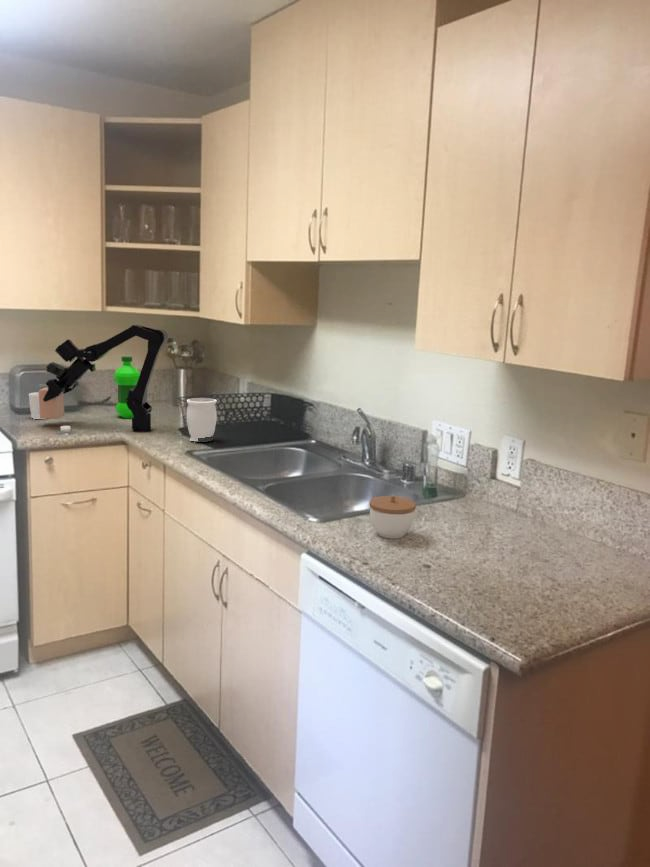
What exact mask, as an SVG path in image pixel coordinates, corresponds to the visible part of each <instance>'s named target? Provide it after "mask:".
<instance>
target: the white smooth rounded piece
mask: <svg viewBox="0 0 650 867" xmlns="http://www.w3.org/2000/svg"><path fill="white" fill-rule="evenodd" d="M59 428H60V431H61V433H70V432H71V430H72V429H71V425H61V426H60V427H59Z"/></svg>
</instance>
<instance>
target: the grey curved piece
mask: <svg viewBox="0 0 650 867" xmlns="http://www.w3.org/2000/svg"><path fill="white" fill-rule="evenodd" d="M53 433H54V435H58V436H59V435H61V436H66V435H68V436H69V435H74V434H77V433H78V431H77V430H74V429H73V430H72V429H71V432H70V433H61V430H56V431H54V432H53Z"/></svg>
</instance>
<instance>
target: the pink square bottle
mask: <svg viewBox="0 0 650 867" xmlns="http://www.w3.org/2000/svg"><path fill="white" fill-rule="evenodd" d="M47 391H48V386H47V385H46V387H44V388H41V389H39V390H38V392H39V407H40V418H48V419H49V420H50V419H51V420H52V419H54V420H58V419H60V418H62V417H64V416H65V401H64V400H65V399H64V394H63V393H62V395H60V396H57V397H55V398H53V399H51V400H48V401H46V402H44V401H43V399H44V397H45V395H46V393H47ZM48 419H47V420H48Z"/></svg>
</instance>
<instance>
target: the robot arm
mask: <svg viewBox="0 0 650 867" xmlns="http://www.w3.org/2000/svg"><path fill="white" fill-rule="evenodd" d="M135 337H138V338H140V339H143V340H146V341H147V352H146V355H145V358H144V360H143V364H142V367H141V371H140V372H139V373H140V376H139V379H138V382H137V385H136V387H135V388H132V389H130V390H129V393H128V397H127V399H126V400H127V406H128V408H129V409H130V410H131V411H132V414H133V416H134V417H132V418H131V428H132V430H133V432H152V418H151V413H152V410H153V406H151V405H150V403H149V402H148V401H147V399H148V387H149V384H150V382H151V378H152V376H153V372H154V371H155V370H154V369H155V367H156V364H157V360H158V358H159V355H160V353H161V352H162V350H163V349H164V347H165V344H166V343H167V341H168V339H169V334H168V333H167V331H166V330H165V329H162V328H156V329H155V328H151V327H148V326H147V327H146V326H142V325H141V324H132V325H131V326H130V327H128V328H127V329H124V330H122V331H121V332H119V333H117V334H115V335H113V336H111V337H109V338H108V339H106V340H104V341H102V342H98V343H94V344H92V345H89V346H86V347H85V348H78V347H77V346H76V345H75V344H74V342H73V341H72V340H71V339H69V338H68V339H67V340H65V341H64V342H62V343H60V344H59V345H58V346H57V347H56V349H55V350H54V352H55V353H56V354H57V355H58V356H59V357H60V358H61V359H63V361H64V362H66V363H68V362H69V363H71V364H70V365H69V366H68V367H64V366H63V365H60V364H58V363H57V362H53V361H52V362H49V363H48V365H47V366H46V369H45V370H46V372H47V373H51V374H53V375H55V378H51V379H48V380H47V381H46V382H45V385H46V387H47V386H48V391H47V393H46V395H45V397H44V399H43V401H44V402H46V401H48V400H51V399H53V398H55V397H57V396H60V395H62V393H63V395H65V394H67V393H69V392H72V391H73V390H76V388H78V386H79V380H81V379H82V377H83V376H84V375H85V374H86V373H87V372H88V371H90V372H92V373H93V372H95V371H97V370H96V363H93V362H96V361H100V360H101V359H102V358H104V357H105V356H106V355H107V354H108V353H109V352H110V351H112V350H113V349H115V348H117V347H119V346H120V345H122V344H124V343H126V342H128V341H130V340H132V339H133V338H135Z"/></svg>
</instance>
